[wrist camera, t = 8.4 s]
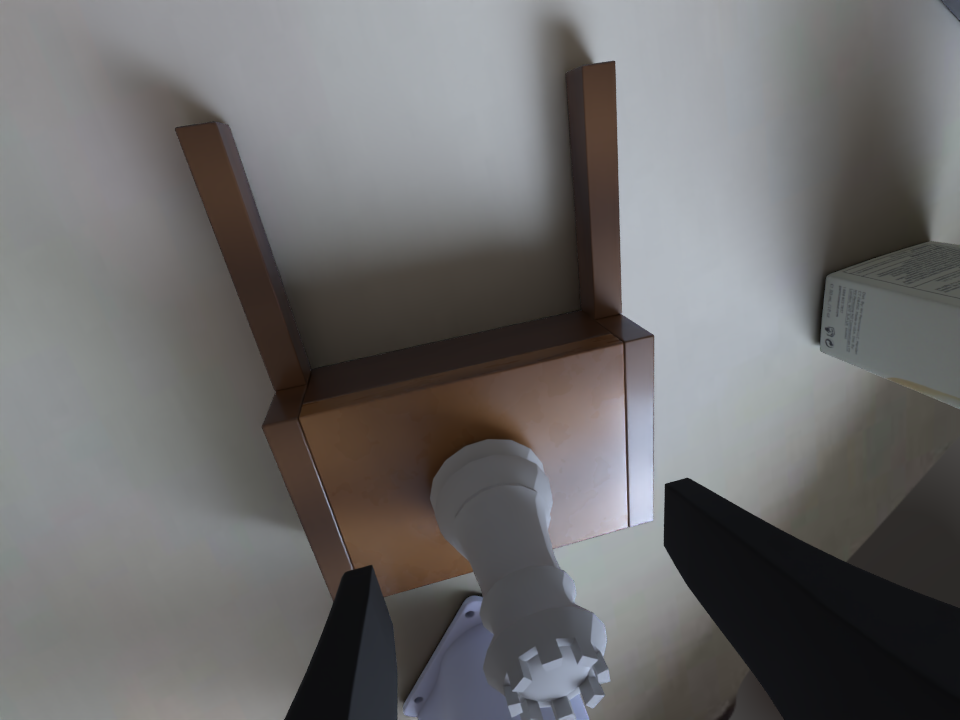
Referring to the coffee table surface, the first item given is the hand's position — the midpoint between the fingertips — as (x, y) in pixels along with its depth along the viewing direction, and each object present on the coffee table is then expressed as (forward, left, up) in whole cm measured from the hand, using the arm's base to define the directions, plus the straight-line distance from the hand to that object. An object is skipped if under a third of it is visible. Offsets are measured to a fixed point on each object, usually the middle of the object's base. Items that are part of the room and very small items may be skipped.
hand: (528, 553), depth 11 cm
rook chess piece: (-2, -2, -7) cm, 7 cm away
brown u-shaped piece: (+1, +1, -10) cm, 11 cm away
